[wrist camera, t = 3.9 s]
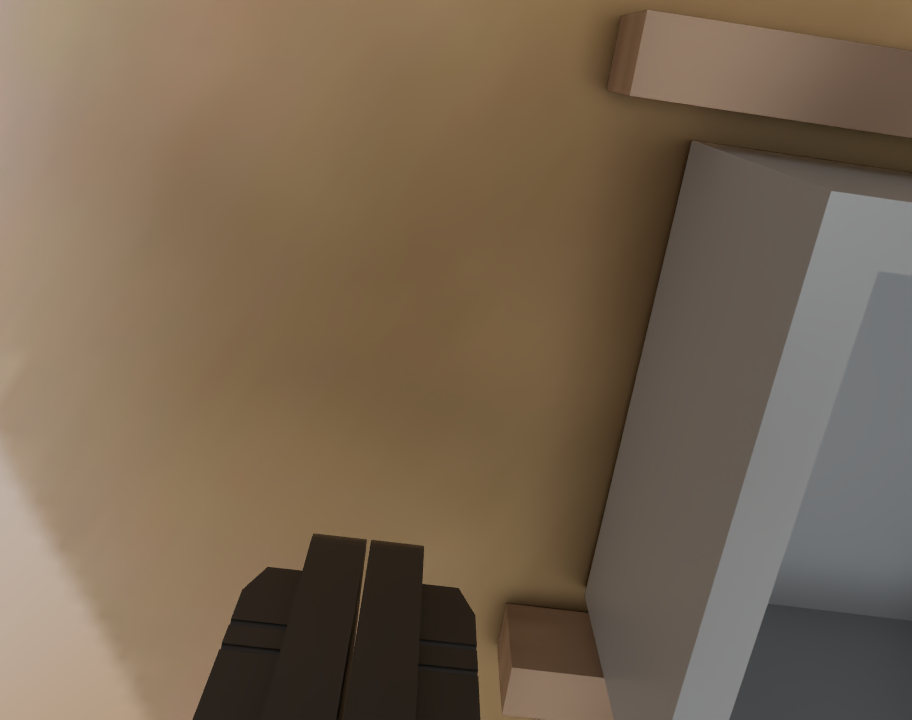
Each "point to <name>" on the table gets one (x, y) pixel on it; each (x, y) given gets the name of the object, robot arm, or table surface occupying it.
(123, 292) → the table surface
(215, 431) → the table surface
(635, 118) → the table surface
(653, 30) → the bar
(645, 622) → the grey storage bin
